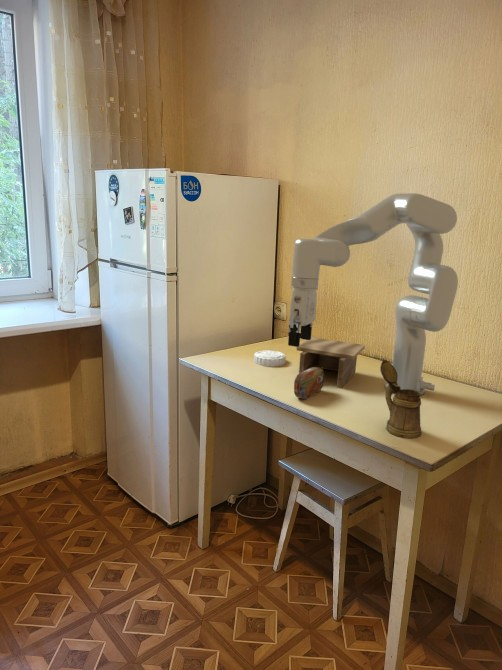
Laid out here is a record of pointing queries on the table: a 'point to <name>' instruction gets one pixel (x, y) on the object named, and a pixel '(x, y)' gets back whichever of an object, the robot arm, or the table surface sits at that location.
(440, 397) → the table surface
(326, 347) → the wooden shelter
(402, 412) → the wooden mug
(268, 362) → the mooncake
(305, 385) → the tin
